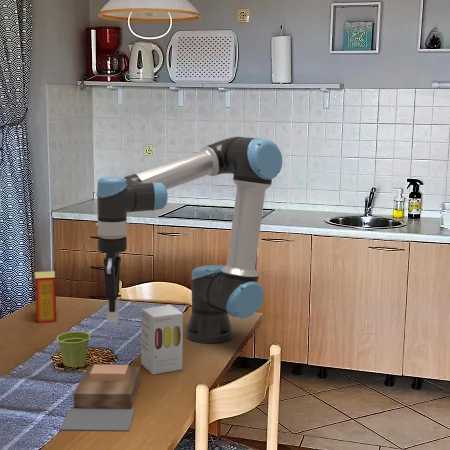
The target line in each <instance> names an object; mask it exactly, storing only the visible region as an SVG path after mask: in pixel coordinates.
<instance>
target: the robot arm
mask: <svg viewBox="0 0 450 450" xmlns="http://www.w3.org/2000/svg"><path fill="white" fill-rule="evenodd" d="M282 155H283V154H282V152H281V150H280V148H279V146H278V145H277V144H276V142H273V141H272V140H270V139H266V138H262V137H243V136H232V137H228V138H225V139H221V140H219V141H216V142H214V143H210V144H207V145H205V146H203V147H201V148H200V150H199V151H197V152H194V153H192V154H188V155H186V156H182V157H180V158H179V157H178V158H176V159H174V160H171V161H168V162H165V163H162V164H160V165H156V166H153V167H150V168H147V169H144V170H142V171H141V170H140V171H138V172H136V173H132V174H130V175H129V174H128V175H126V176H124V177H122V176H104V177H100V178H99V179H98V180H97V187H96V188H97V189H96V190H97V191H96V197H97V222H96V223H95V226H96V228H97V235H98V237H97V250H98V251H99V252H100V253H105V254H106V256H105V258H103V273H104V283H105V284H104V286H105V287H104V288H105V289H104V290H105V297H104V298H103V299H104V301H106V302H107V305H106V306H107V307H106V308H107V310H106V311H107V315H106V316H107V324H118V323H119V298H121V297H122V294H120V292H121V291H120V278H121V277H120V276H121V275H120V274H121V262H122V257H121V256H120V253H123V252H125V251H126V250H127V247H128V242H127V241H128V240H127V239H128V238H127V237H126V235H127V234H128V223H127V222H128V220H127V217H128V216H127V215H128V214H127V213H137V212H149V211H150V212H151V211H152V212H154V211H157V210H162V209H164V208H165V207H166V205H167V204H168V200H169V199H168V190H169V189H173V188H175V187H178V186H180V185H183V184H184V185H185V184H186V183H190V182H192V181H194V180H197V179H200V178H203V177H206V176H209V177H216V176H218V175H224V174H228V175H229V174H230V175H231V174H232V175H233V177H232V178H233V179H232V182H234V184H235V186H236V194H235V200H234V207H233V216H232V222H231V230H230V237H229V245H228V254H227V260H226V264H225V265H223V264H208V265H201V266H198V267H195V268H194V269H192V272H191V279H190V281H191V313H190V316H189V320H188V323H187V325H186V330H185V334H186V335H185V336H186V338H187V339H188V340H190V341H192V342H194V343H195V342H196V343H199V344H219V343H224V342H227V341H230V340H231V339H232V338H233V335H234V332H233V331H234V329H233V326H232V322H231V319H230V317H233V318H239V319H247V318H248V319H249V318H251V317H253V316H254V315H255V313H257V312H258V311H259V310H260V308H261V307H262V304H263V301H264V296H265V295H264V293H265V292H264V290H263V287H262V286H261V284H259V272H257V270H256V263H257V262H256V260H257V254H258V247H259V240H260V232H261V225H262V224H261V223H262V219H263V218H262V217H263V211H264V210H263V209H264V203H265V196H266V191H267V189H269V188H270V187H272V182H273V179H275V178H276V177H277V176H278V175H279V174H280V172H281V171H282V167H283V156H282Z"/></svg>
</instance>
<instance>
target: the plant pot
mask: <svg viewBox="0 0 450 450" xmlns="http://www.w3.org/2000/svg"><path fill="white" fill-rule="evenodd" d="M90 339H91V334H90V333H88V332H84V331H67V332H63V333H61V334H59V335H57V337H56V341H57V342H58V345H59V348H60V353H61V358H62V365H63V364H64V365H65V366H67V367H79V366H82V365H84V364H85V363H87V354H88V344H89V342H90ZM64 365H63V366H64ZM85 365H86V364H85Z"/></svg>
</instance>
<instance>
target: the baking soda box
mask: <svg viewBox="0 0 450 450" xmlns="http://www.w3.org/2000/svg"><path fill="white" fill-rule="evenodd" d="M34 286H35V288H34V289H35V291H34V292H35V309H36V311H35V313H36V314H35V315H36V324H44V323H45V324H46V323H57V301H56V300H57V299H56V297H57V296H56V293H57V292H56V274H55V270H47V271H35V272H34Z"/></svg>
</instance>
